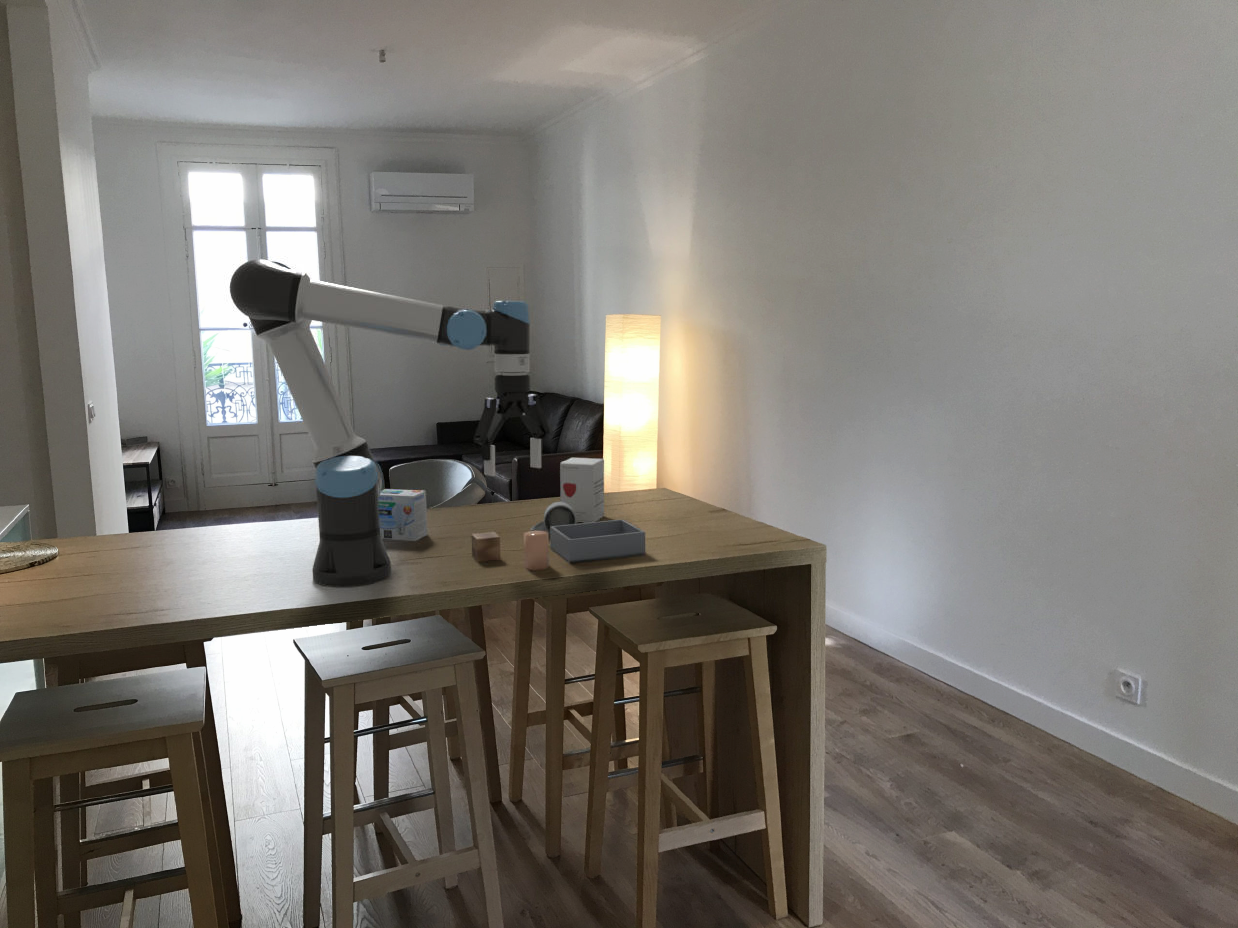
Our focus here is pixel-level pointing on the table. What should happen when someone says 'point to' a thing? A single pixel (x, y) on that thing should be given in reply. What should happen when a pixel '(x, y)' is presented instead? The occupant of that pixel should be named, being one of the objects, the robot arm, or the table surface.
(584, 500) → the supplement box
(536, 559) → the glossy tan capsule
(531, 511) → the table surface
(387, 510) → the light bulb box
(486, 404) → the robot arm
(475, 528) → the table surface
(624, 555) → the tote
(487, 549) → the walnut cube
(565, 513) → the ceramic mug
